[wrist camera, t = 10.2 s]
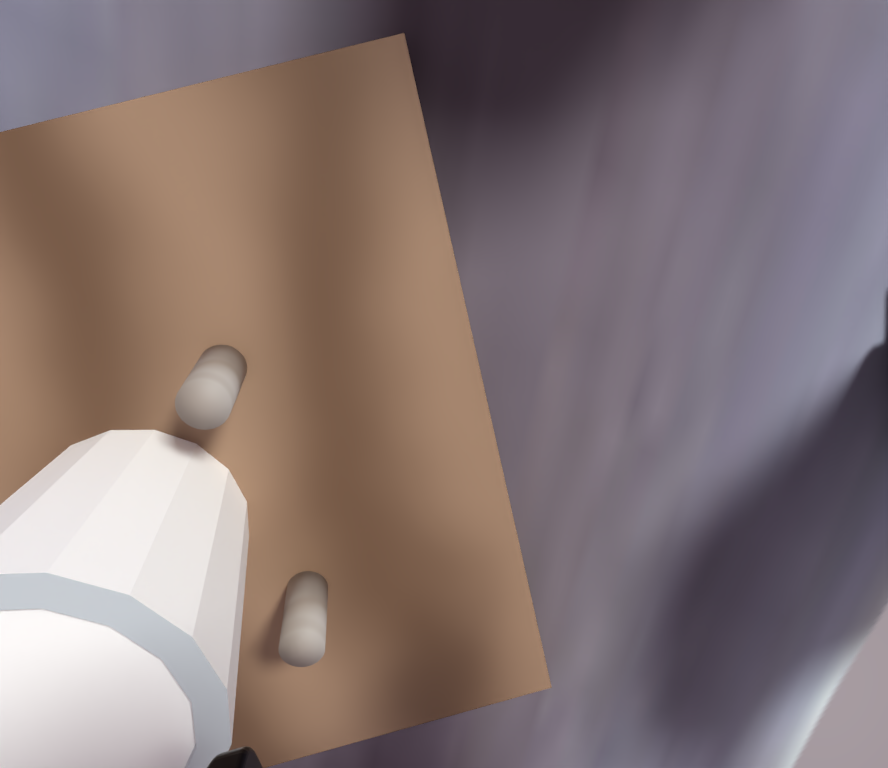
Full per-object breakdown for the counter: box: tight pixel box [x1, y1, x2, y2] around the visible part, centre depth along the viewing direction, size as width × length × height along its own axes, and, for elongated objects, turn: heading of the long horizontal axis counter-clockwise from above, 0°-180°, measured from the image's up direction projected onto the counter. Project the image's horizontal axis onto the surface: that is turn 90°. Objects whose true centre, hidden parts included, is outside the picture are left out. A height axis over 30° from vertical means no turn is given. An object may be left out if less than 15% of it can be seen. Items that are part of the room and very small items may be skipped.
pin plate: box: [0, 33, 552, 768], centre depth 18 cm, size 20×20×4 cm
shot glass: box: [0, 430, 249, 768], centre depth 15 cm, size 7×7×7 cm
